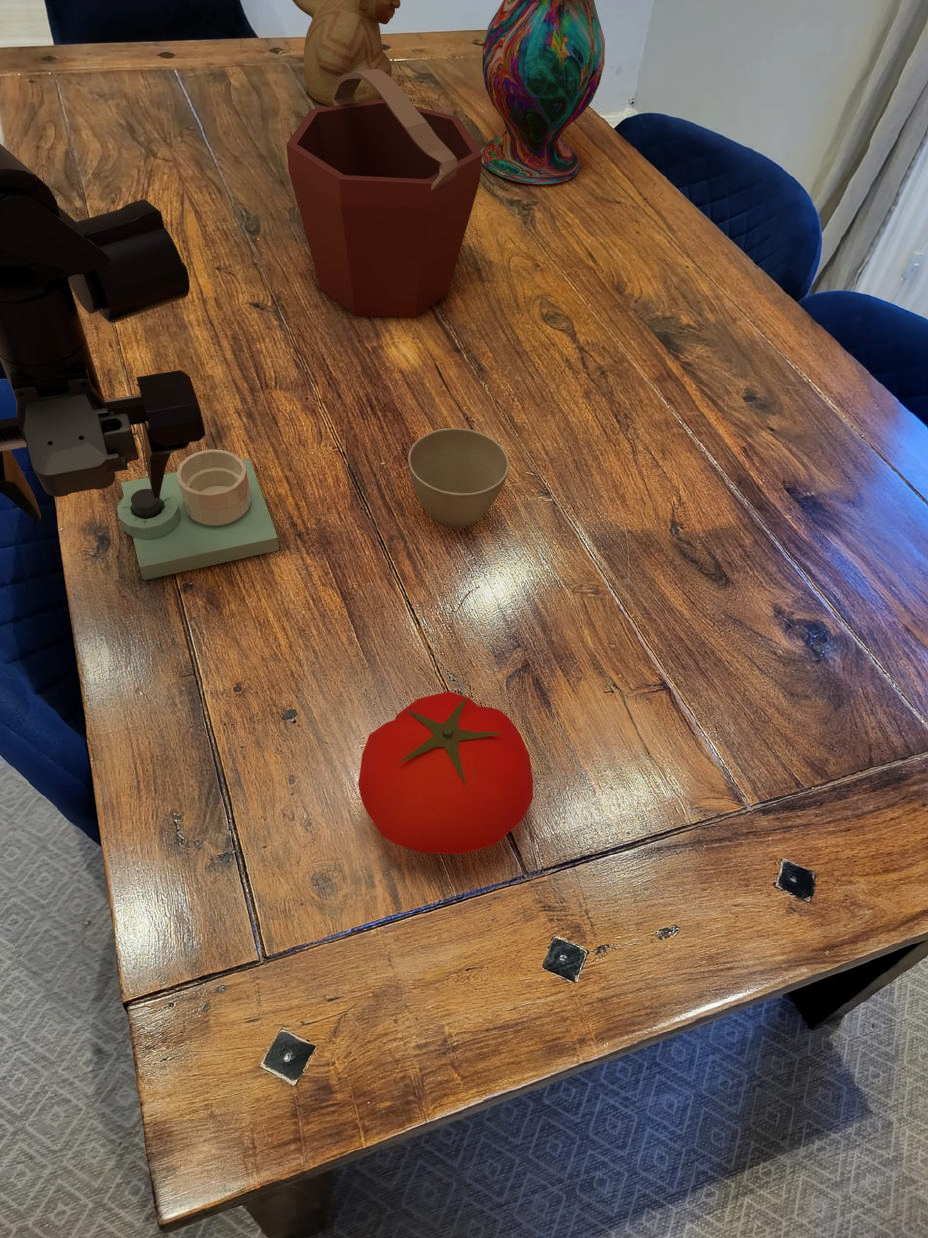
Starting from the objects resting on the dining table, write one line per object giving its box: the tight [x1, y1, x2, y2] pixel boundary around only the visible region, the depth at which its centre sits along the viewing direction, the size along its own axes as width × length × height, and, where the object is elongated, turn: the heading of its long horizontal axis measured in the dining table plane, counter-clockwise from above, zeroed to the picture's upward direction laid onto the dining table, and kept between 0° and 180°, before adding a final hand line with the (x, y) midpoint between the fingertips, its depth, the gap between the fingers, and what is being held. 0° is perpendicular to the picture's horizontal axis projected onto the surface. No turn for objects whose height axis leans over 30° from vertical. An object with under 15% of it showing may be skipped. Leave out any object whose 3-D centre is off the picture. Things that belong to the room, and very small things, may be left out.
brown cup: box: [407, 427, 510, 530], centre depth 89 cm, size 10×10×7 cm
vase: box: [480, 0, 606, 185], centre depth 132 cm, size 18×18×30 cm
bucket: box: [286, 69, 483, 319], centre depth 108 cm, size 24×22×25 cm
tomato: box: [357, 690, 534, 855], centre depth 66 cm, size 13×12×11 cm
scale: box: [116, 458, 280, 581], centre depth 86 cm, size 14×12×4 cm
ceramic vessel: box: [291, 0, 402, 107], centre depth 145 cm, size 17×20×25 cm
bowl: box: [176, 448, 251, 526], centre depth 85 cm, size 6×6×4 cm
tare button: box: [131, 489, 162, 519], centre depth 84 cm, size 3×3×2 cm
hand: (98, 506), depth 72 cm, fingers open, 9 cm apart
